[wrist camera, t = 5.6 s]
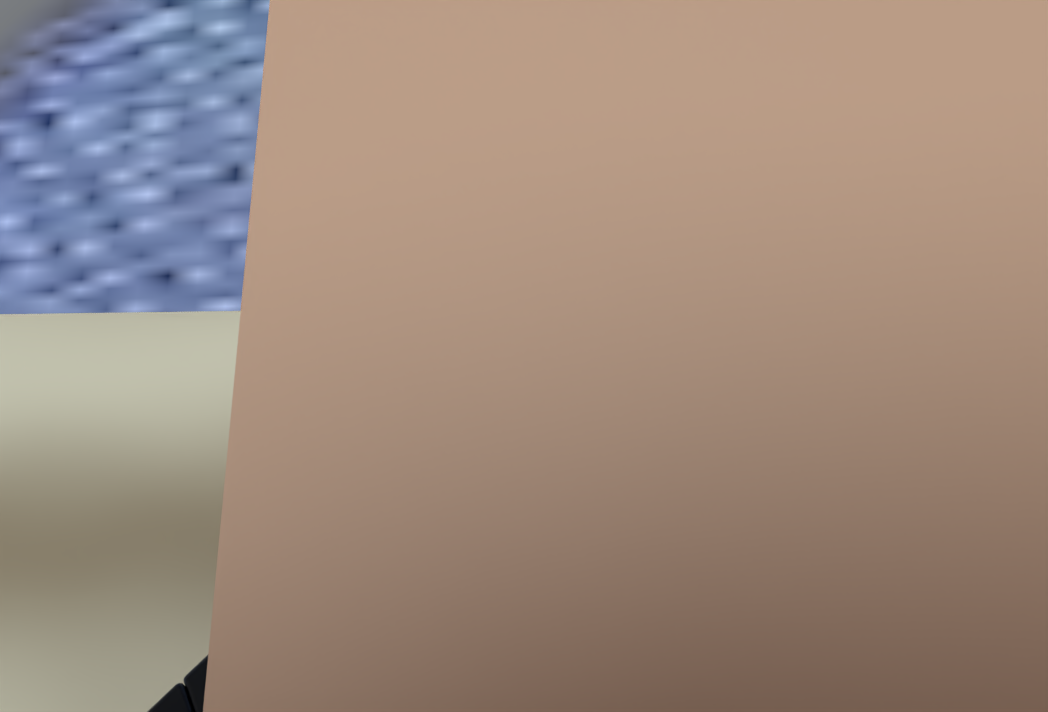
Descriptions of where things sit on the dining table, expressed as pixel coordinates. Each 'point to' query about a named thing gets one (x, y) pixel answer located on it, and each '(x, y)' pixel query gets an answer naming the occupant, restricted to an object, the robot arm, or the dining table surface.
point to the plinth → (109, 503)
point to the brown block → (641, 360)
